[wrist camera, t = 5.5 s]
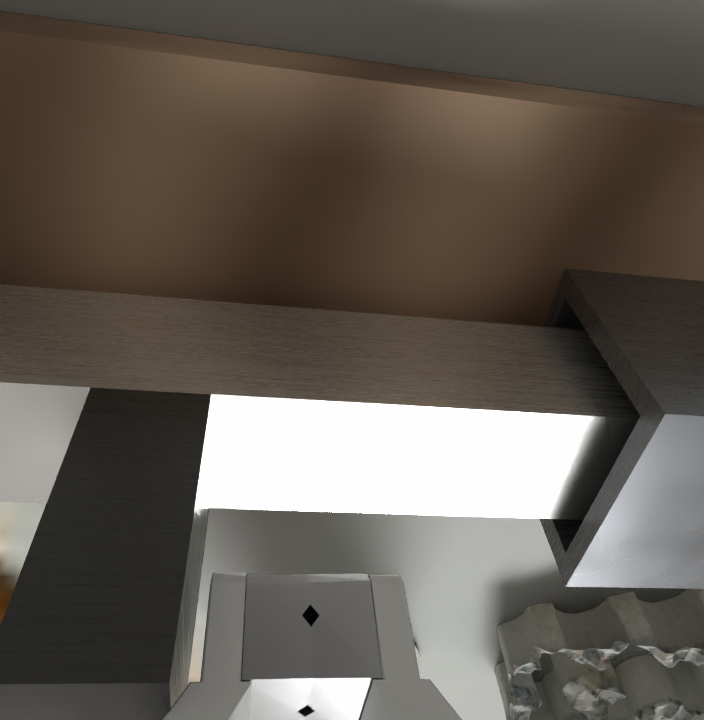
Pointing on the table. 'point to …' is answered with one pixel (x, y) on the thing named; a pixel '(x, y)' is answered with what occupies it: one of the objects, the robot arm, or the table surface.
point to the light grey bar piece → (252, 458)
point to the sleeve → (641, 433)
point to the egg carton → (606, 661)
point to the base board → (327, 178)
